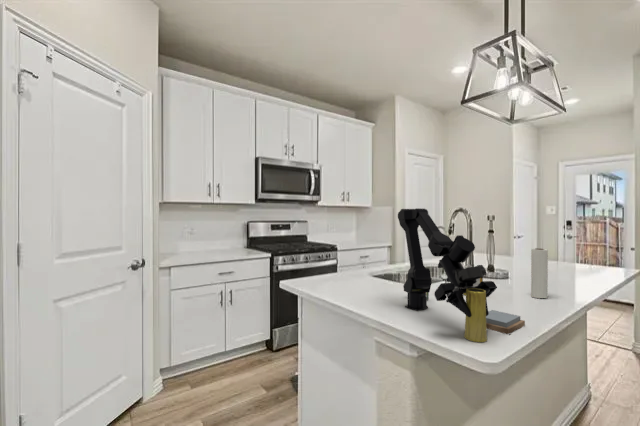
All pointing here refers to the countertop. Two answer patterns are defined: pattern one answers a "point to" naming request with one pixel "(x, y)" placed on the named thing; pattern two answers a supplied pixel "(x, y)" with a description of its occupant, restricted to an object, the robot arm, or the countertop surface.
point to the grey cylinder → (539, 273)
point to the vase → (476, 315)
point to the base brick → (506, 330)
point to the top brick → (501, 318)
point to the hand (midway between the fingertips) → (478, 315)
